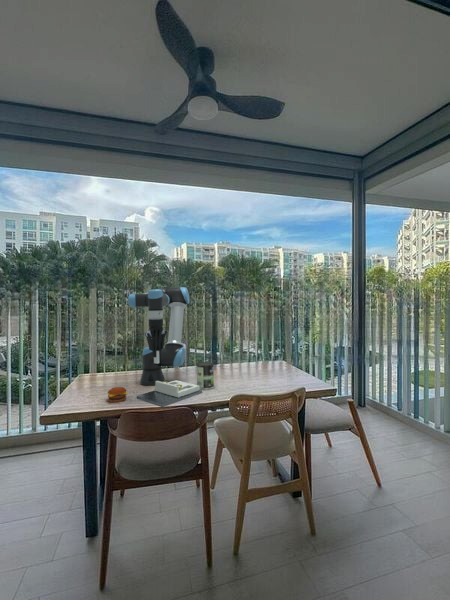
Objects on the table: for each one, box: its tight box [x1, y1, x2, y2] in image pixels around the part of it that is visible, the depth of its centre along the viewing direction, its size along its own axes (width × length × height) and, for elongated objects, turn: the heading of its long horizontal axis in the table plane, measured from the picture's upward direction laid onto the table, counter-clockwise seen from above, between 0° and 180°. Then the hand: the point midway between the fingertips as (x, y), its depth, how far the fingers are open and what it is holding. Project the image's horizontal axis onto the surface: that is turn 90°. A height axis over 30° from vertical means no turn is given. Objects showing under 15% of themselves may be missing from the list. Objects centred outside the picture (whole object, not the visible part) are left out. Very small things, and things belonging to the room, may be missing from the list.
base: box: [136, 380, 203, 408], centre depth 168 cm, size 22×28×6 cm
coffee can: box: [195, 361, 215, 391], centre depth 182 cm, size 10×10×14 cm
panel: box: [153, 379, 201, 398], centre depth 172 cm, size 20×16×5 cm
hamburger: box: [106, 386, 128, 404], centre depth 162 cm, size 9×10×7 cm
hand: (156, 363), depth 161 cm, fingers closed
